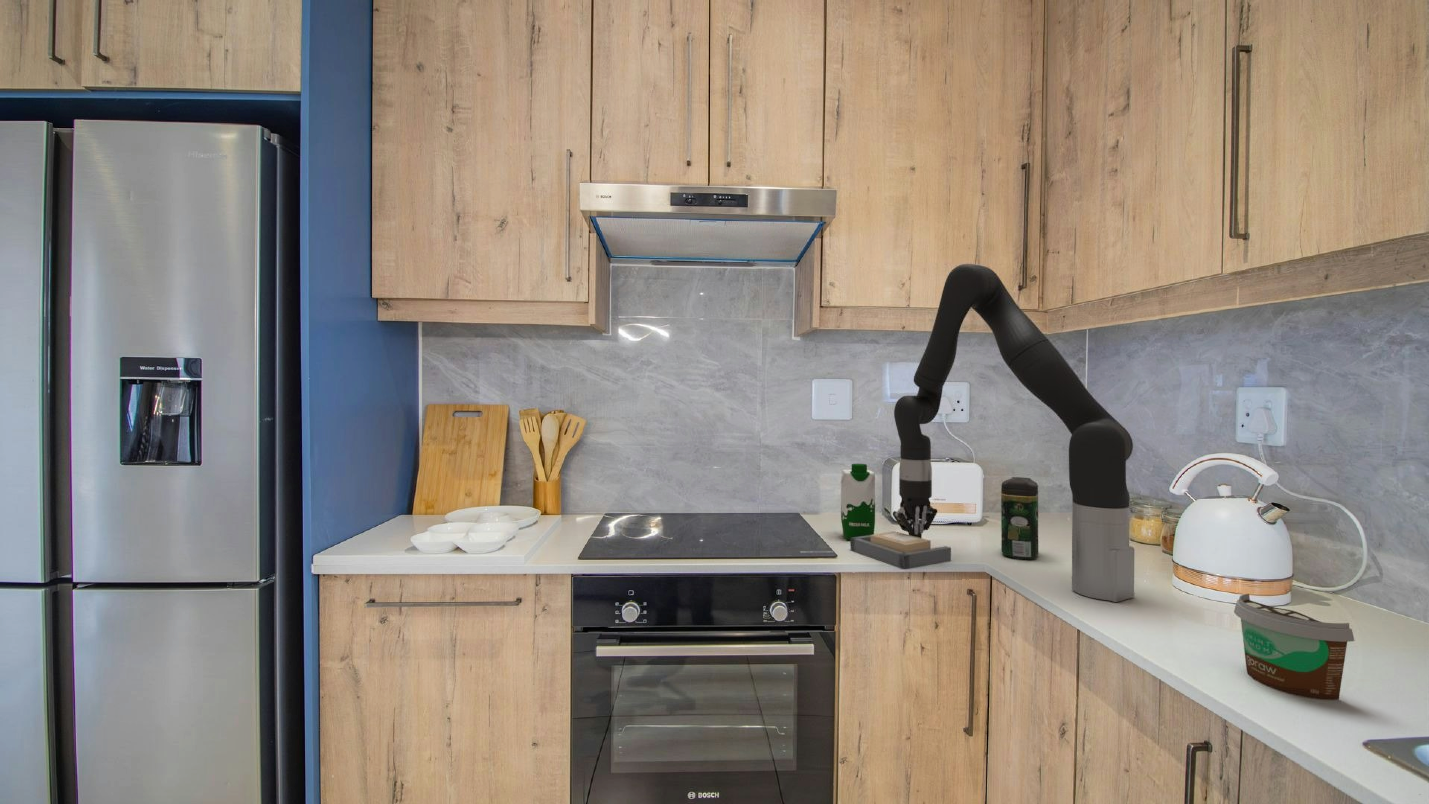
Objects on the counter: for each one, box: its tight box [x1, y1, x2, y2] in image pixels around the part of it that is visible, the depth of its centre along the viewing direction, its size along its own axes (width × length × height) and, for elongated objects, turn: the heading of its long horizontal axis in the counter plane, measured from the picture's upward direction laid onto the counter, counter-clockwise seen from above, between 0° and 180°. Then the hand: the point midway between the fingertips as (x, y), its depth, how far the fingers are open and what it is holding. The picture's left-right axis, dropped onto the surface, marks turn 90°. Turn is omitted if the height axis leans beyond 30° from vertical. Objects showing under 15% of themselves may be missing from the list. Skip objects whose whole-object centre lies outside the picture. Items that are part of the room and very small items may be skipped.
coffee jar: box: [1000, 476, 1039, 560], centre depth 141 cm, size 10×8×19 cm
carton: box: [871, 530, 932, 553], centre depth 139 cm, size 11×8×5 cm
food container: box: [1233, 593, 1355, 701], centre depth 78 cm, size 12×6×10 cm, turn 13°
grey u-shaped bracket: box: [850, 535, 952, 570], centre depth 141 cm, size 18×14×3 cm
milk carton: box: [840, 463, 876, 542], centre depth 158 cm, size 9×9×20 cm
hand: (915, 548), depth 143 cm, fingers closed
